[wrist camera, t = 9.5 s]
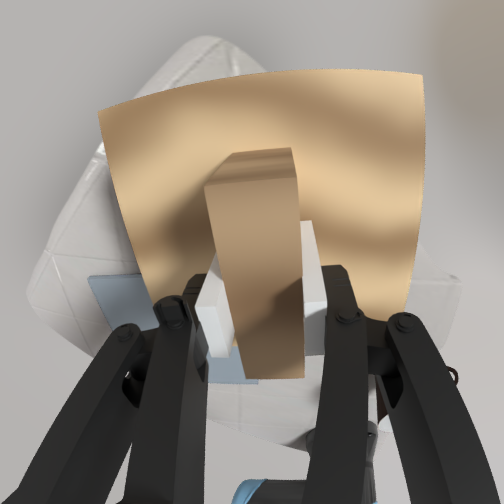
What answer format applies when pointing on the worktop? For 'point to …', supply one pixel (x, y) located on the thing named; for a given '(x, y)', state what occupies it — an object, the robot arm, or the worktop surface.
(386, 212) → the cover board
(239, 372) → the mat
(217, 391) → the worktop surface
